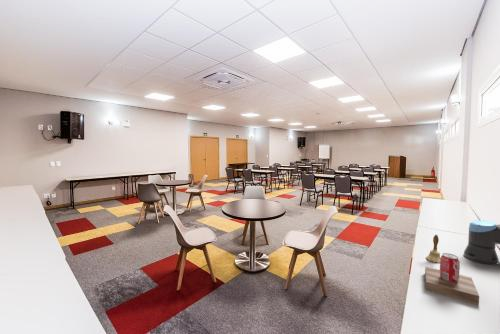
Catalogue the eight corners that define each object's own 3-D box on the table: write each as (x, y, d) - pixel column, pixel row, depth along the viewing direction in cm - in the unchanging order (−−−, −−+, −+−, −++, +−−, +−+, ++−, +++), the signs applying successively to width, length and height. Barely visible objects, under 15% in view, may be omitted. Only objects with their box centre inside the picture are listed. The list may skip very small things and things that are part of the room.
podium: (425, 273, 122) (425, 266, 122) (470, 285, 111) (471, 277, 111) (426, 289, 108) (426, 281, 107) (478, 304, 97) (479, 296, 96)
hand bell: (443, 259, 138) (444, 234, 137) (443, 264, 131) (444, 238, 130) (425, 255, 143) (427, 231, 142) (425, 260, 137) (426, 235, 136)
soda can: (458, 279, 109) (459, 255, 109) (459, 285, 104) (460, 260, 103) (439, 274, 114) (440, 251, 113) (439, 279, 109) (440, 256, 108)
